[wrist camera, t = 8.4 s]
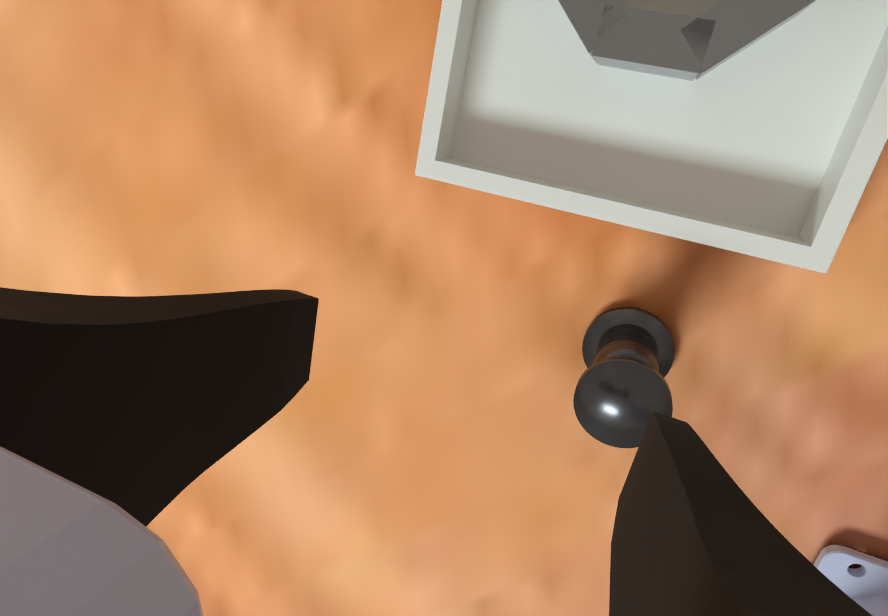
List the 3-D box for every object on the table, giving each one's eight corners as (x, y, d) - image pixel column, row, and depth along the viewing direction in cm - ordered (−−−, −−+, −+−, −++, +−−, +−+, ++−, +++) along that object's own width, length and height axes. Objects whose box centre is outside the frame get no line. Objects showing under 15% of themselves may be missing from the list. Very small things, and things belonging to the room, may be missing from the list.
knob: (686, 321, 18) (696, 375, 14) (657, 399, 20) (660, 469, 15) (596, 297, 19) (582, 341, 15) (573, 372, 20) (554, 433, 16)
